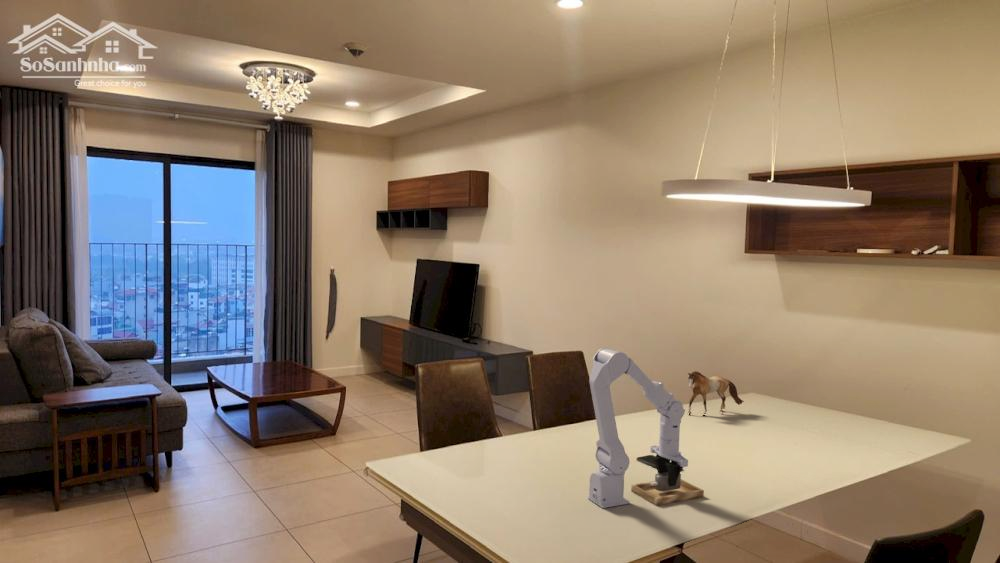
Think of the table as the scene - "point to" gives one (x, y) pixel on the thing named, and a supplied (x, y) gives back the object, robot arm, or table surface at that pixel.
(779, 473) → the table surface
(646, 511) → the table surface
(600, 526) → the table surface
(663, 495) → the oak tray
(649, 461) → the phone
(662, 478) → the grey rounded long block
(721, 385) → the horse figurine
